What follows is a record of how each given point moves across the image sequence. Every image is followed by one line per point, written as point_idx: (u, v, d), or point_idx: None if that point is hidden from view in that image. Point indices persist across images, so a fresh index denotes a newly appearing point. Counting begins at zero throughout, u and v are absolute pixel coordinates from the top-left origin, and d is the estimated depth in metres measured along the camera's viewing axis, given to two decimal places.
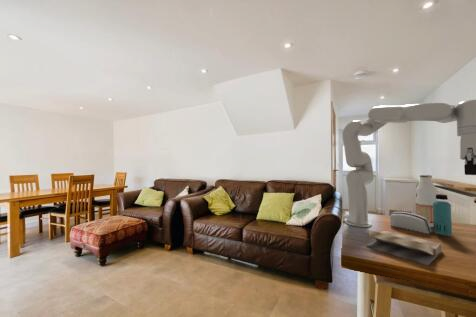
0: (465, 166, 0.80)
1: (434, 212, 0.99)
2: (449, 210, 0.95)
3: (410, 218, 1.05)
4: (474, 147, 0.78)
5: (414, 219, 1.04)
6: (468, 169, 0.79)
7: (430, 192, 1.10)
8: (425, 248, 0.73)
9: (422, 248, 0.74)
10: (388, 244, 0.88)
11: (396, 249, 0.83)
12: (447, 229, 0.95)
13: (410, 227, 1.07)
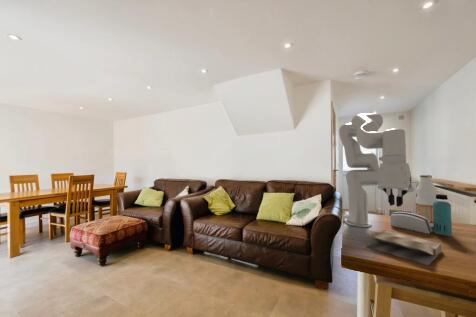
0: (398, 198, 0.80)
1: (434, 212, 0.99)
2: (449, 210, 0.95)
3: (411, 218, 1.05)
4: None
5: (415, 219, 1.04)
6: (401, 201, 0.80)
7: (430, 192, 1.10)
8: (425, 248, 0.73)
9: (422, 248, 0.74)
10: (388, 244, 0.88)
11: (396, 249, 0.83)
12: (447, 229, 0.95)
13: (411, 227, 1.07)
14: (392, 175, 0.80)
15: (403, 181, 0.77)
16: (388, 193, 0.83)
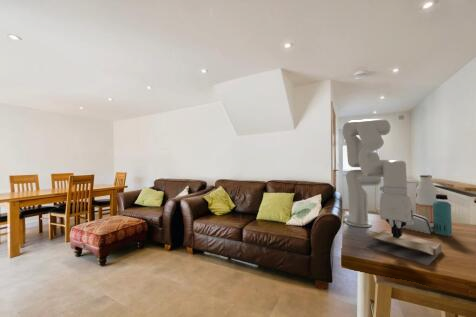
0: (397, 229, 0.80)
1: (434, 212, 0.99)
2: (449, 210, 0.95)
3: None
4: None
5: (415, 219, 1.04)
6: (400, 232, 0.80)
7: (430, 192, 1.10)
8: (425, 248, 0.73)
9: (422, 248, 0.74)
10: (388, 244, 0.88)
11: (396, 249, 0.83)
12: (447, 229, 0.95)
13: (411, 227, 1.07)
14: (393, 207, 0.80)
15: (404, 214, 0.77)
16: (391, 224, 0.82)
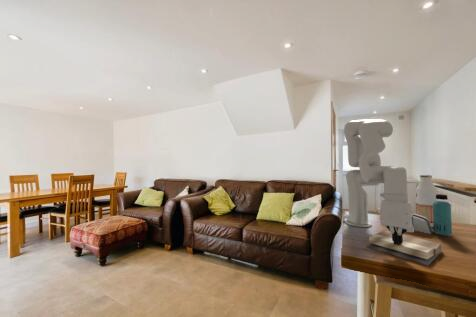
0: (398, 236, 0.80)
1: (434, 212, 0.99)
2: (449, 210, 0.95)
3: None
4: (412, 215, 0.78)
5: (416, 219, 1.04)
6: (401, 239, 0.80)
7: (430, 192, 1.10)
8: (425, 256, 0.73)
9: (422, 256, 0.74)
10: None
11: None
12: (447, 229, 0.95)
13: None
14: (394, 214, 0.80)
15: (405, 221, 0.77)
16: (392, 231, 0.81)
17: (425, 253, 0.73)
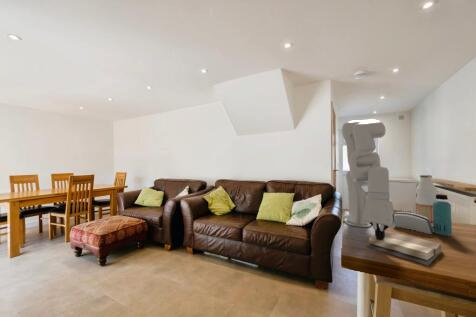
0: (380, 232, 0.85)
1: (434, 212, 0.99)
2: (449, 210, 0.95)
3: (412, 218, 1.05)
4: None
5: (417, 219, 1.03)
6: (383, 235, 0.85)
7: (430, 192, 1.10)
8: (425, 257, 0.73)
9: (422, 257, 0.74)
10: None
11: None
12: (447, 229, 0.95)
13: (412, 227, 1.06)
14: (376, 211, 0.85)
15: (386, 218, 0.82)
16: (375, 227, 0.87)
17: (425, 254, 0.73)
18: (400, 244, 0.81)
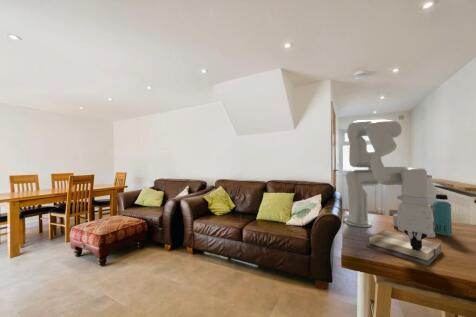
0: (417, 242, 0.75)
1: (434, 212, 0.99)
2: (449, 210, 0.95)
3: None
4: (433, 220, 0.73)
5: None
6: (420, 245, 0.75)
7: (430, 192, 1.10)
8: (425, 257, 0.73)
9: (422, 257, 0.74)
10: None
11: None
12: (447, 229, 0.95)
13: None
14: (413, 218, 0.75)
15: (425, 226, 0.72)
16: (410, 236, 0.77)
17: (425, 254, 0.73)
18: (400, 244, 0.81)
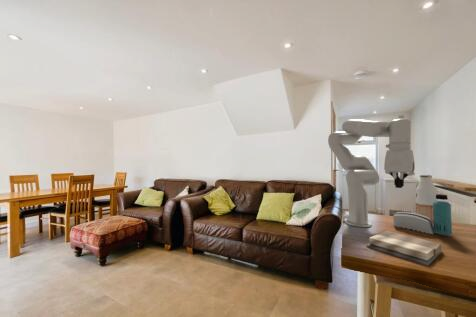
0: (399, 180, 0.91)
1: (434, 212, 0.99)
2: (449, 210, 0.95)
3: (414, 218, 1.04)
4: None
5: (418, 219, 1.03)
6: (402, 183, 0.90)
7: (430, 192, 1.10)
8: (425, 257, 0.73)
9: (422, 257, 0.74)
10: None
11: None
12: (447, 229, 0.95)
13: (414, 227, 1.06)
14: (397, 160, 0.90)
15: (406, 166, 0.87)
16: (394, 177, 0.92)
17: (425, 254, 0.73)
18: (400, 244, 0.81)
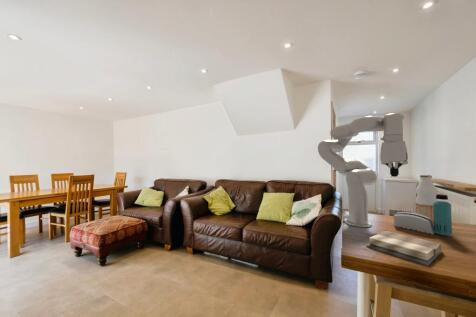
0: (395, 169, 0.98)
1: (434, 212, 0.99)
2: (449, 210, 0.95)
3: (415, 218, 1.04)
4: None
5: (419, 219, 1.03)
6: (397, 172, 0.98)
7: (430, 192, 1.10)
8: (425, 257, 0.73)
9: (422, 257, 0.74)
10: None
11: None
12: (447, 229, 0.95)
13: (414, 227, 1.06)
14: (391, 151, 0.98)
15: (400, 155, 0.95)
16: (390, 166, 1.00)
17: (425, 254, 0.73)
18: (400, 244, 0.81)
